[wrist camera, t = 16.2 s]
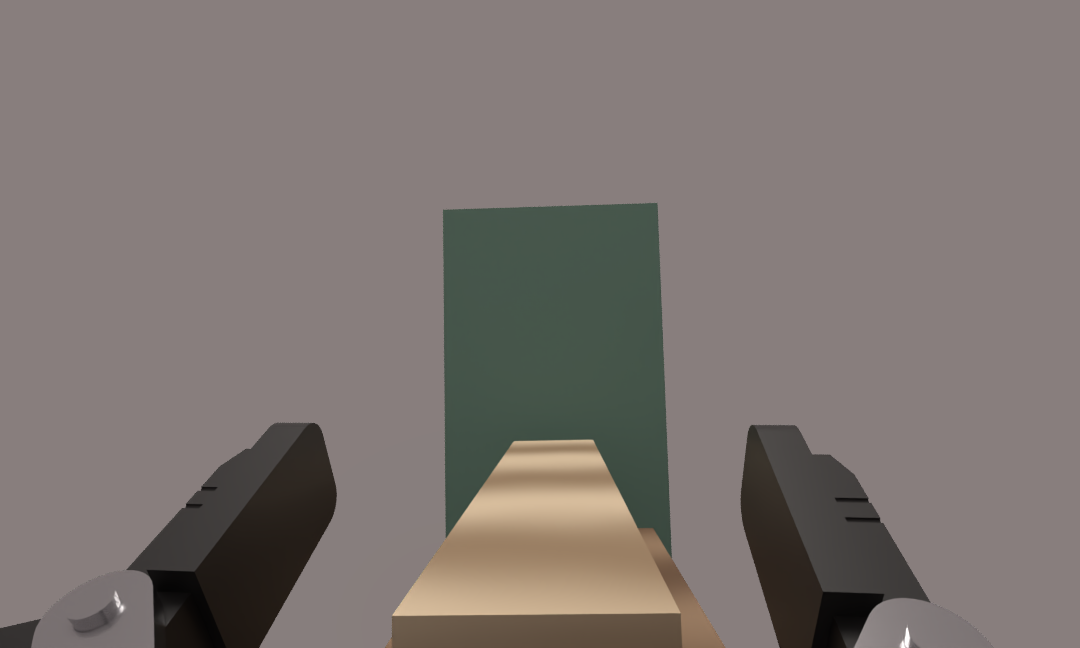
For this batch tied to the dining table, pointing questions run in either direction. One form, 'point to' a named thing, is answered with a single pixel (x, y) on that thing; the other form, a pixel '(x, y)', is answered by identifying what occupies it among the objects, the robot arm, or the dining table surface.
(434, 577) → the beech bar
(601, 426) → the green stand
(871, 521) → the robot arm
